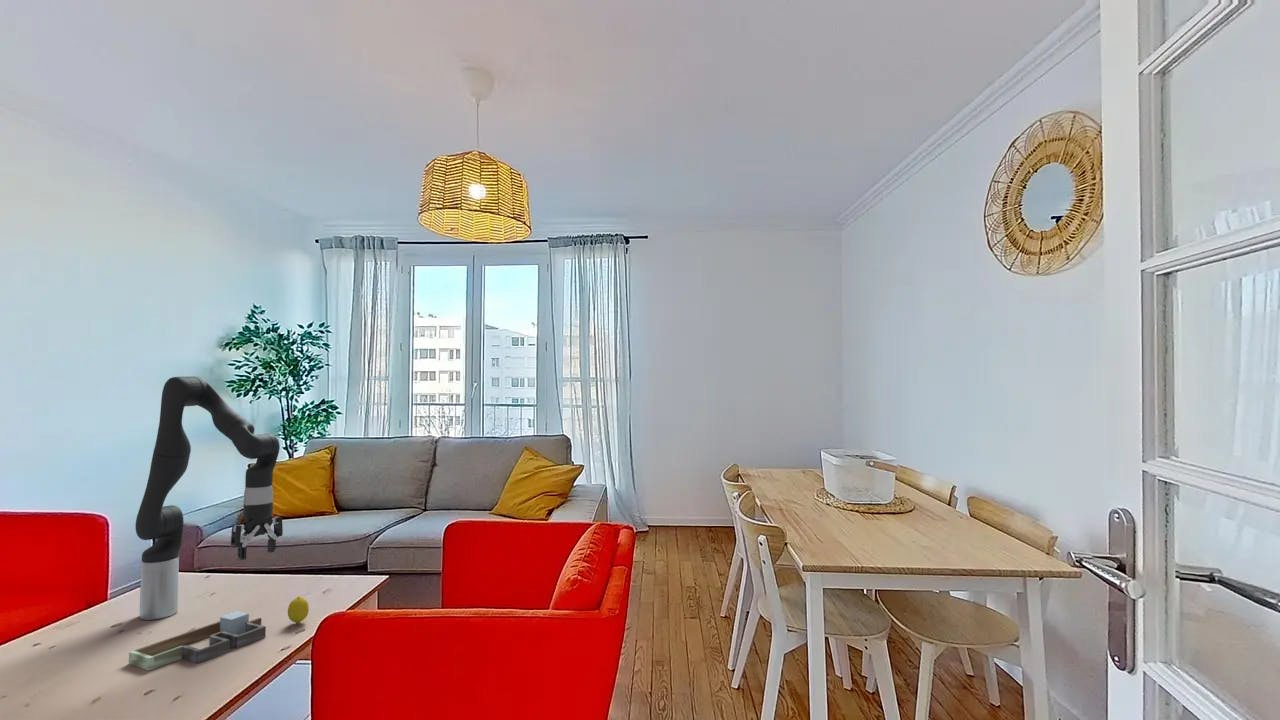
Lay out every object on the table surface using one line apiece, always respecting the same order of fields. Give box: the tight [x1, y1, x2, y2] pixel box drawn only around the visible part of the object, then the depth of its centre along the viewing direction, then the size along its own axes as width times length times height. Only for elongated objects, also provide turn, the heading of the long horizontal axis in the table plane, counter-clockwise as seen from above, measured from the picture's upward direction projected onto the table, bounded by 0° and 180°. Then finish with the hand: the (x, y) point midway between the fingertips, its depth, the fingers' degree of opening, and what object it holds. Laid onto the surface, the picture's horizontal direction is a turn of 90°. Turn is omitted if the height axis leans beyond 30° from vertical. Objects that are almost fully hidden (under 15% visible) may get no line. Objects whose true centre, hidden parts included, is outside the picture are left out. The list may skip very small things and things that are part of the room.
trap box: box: [128, 617, 267, 671], centre depth 169 cm, size 16×29×3 cm, turn 156°
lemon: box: [287, 596, 310, 625], centre depth 186 cm, size 6×6×8 cm
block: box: [219, 610, 250, 635], centre depth 179 cm, size 5×5×5 cm
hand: (257, 555), depth 185 cm, fingers open, 8 cm apart
